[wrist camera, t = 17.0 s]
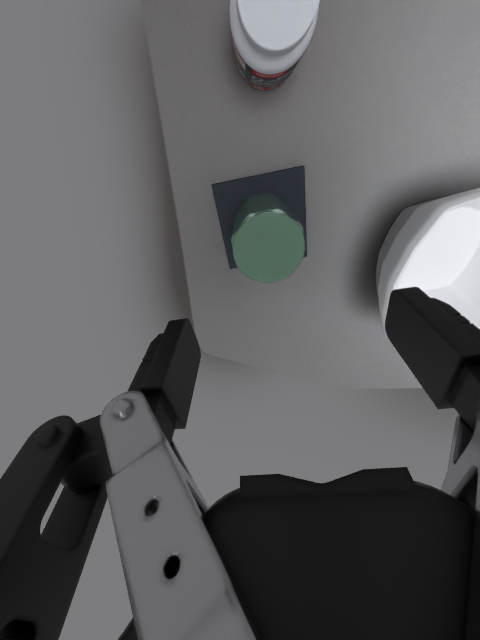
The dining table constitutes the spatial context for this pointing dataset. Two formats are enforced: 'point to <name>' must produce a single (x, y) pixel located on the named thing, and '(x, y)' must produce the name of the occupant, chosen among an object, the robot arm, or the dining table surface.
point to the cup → (267, 239)
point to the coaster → (237, 191)
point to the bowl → (435, 254)
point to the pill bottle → (270, 38)
